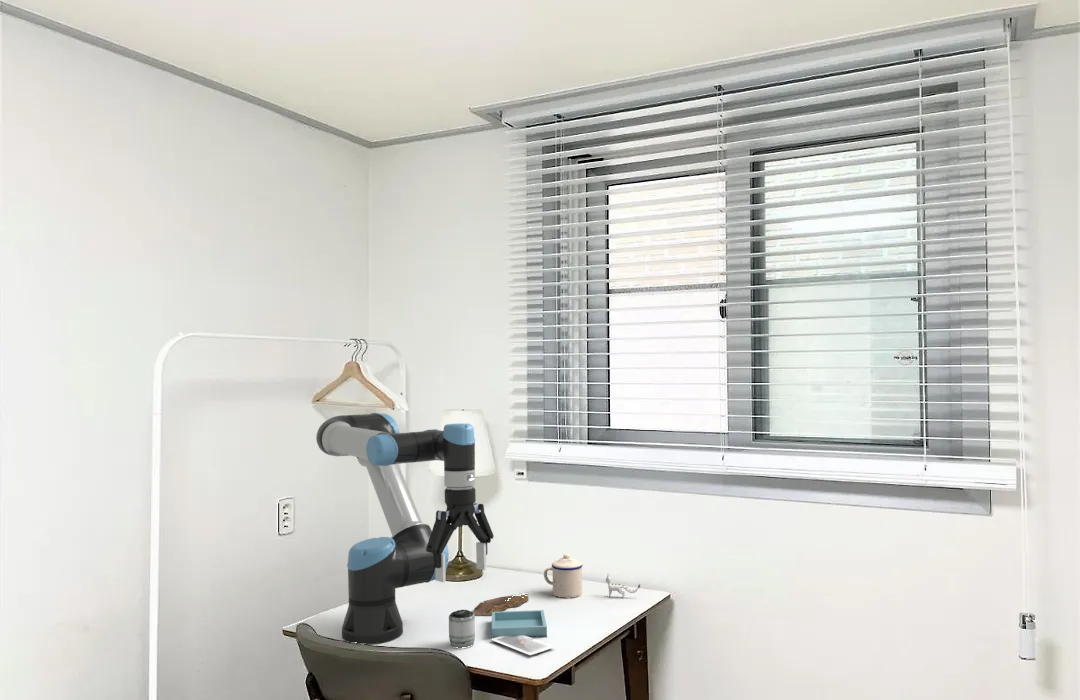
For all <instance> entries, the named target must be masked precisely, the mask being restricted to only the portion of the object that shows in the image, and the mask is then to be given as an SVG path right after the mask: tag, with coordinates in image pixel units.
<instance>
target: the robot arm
mask: <svg viewBox="0 0 1080 700" xmlns="http://www.w3.org/2000/svg"><path fill="white" fill-rule="evenodd" d="M315 437H316V438H315V440H316V444H317V446H318V448H319V449H320V451H322V453H324V454H326V455H328V456H334V457H347V456H348V457H349V456H351V457H356V459H357V461H358V463H359V465H360V466H362V467H365V468H366V470H367V472H368V475H369V477H370V480H371V483H372V486H373V488H374V491H375V494H376V497H377V498H378V502H379V505H380V507H381V510H382V512H383V514H384V517H385V520H386V523H387V526H388V529H389V530H390V533H391V537H390V536H379V537H372V538H368V539H364V540H361V541H359V542H357V543H355V544H353V545H352V546H351V547H350V549H349V551H348V558H347V565H346V566H347V583H348V587H347V588H348V607H347V611H346V614H345V617H344V620H343V623H342V627H341V639H342V640H343V641H345V642H347V641H349V642H348V643H350V642H357V643H366V644H365V645H372V644H381V643H385V642H391V641H393V640H395V639H396V638H399V637H400V636H402V634H403V632H404V624H403V620H402V618H401V614H400V611H399V608H398V605H397V602H396V589H398V588H404V587H409V586H414V585H419V584H424V583H426V584H427V583H430V582H433V581H437V582H440V583H446V580H447V579H446V576H447V575H446V573H447V568H448V566H449V547H448V543H449V541H450V539H451V537H452V535H453V534H454V531H456V530H457V529H458V528H461V527H463V526H468V528H469V529H470V531H471V532H472V533H473V535H474V536H475V537H476V539H477V540H478V542H476V543H475V546H476V547H475V549H476V550H475V552H476V555H475V556H476V560H475V561H476V570H480V571H487V555H488V544H491V541H492V540H493V539H494V532H493V530H492V528H491V526H490V523H489V521H488V519H487V516H486V514H485V505H484V504H483V503H477V502H476V500H477V499H476V497H477V495H476V488H475V487H474V486H475V485H476V453H475V452H476V449H475V448H476V438H475V427H474V426H473V424H471V423H447V424H445V425H444V426H443V430H440V429H426V430H423V431H414V432H413V431H410V432H400V429H399V427H398V424H397V422H396V421H395V419H394V417H392V416H391V415H389V414H387V413H379V412H372V413H369V414H366V413H365V414H347V415H343V414H342V415H337V416H331V417H330V418H328V419H326V420H325V421H324V422H322V424H320V426H319V427H318V429H317V432H316V436H315ZM430 461H431V462H433V461H441V462H443V467H444V468H443V471H444V472H443V475H444V476H443V477H444V480H443V481H444V483H443V484H444V485H443V486H444V487H445V489H444V503H445V505H446V510H439V509H438V510H436V512H435V521H434V523H433V526H432V528H431V526H430V525H429V524H428V523H425V522H422V519H421V516H420V514H419V512H418V508H417V507H416V506H417V505H416V504H415V502H414V499H413V497H412V495H411V492H410V489H409V487H408V484H407V482H406V480H405V478H404V475H403V472H402V470H401V468H400V467H401V466H400V464H408V463H409V464H410V463H411V464H412V463H422V462H430Z"/></svg>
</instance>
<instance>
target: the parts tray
mask: <svg viewBox="0 0 1080 700" xmlns="http://www.w3.org/2000/svg"><path fill="white" fill-rule="evenodd" d="M518 635H525V636H527V637H530V638H546V637H548V628H547V622H546V616H545V612H544V609H537V610H534V609H533V610H510V611H507V610H504V611H501V612H492V616H491V639H492V638H496V637H500V636H518Z"/></svg>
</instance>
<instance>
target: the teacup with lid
mask: <svg viewBox="0 0 1080 700" xmlns="http://www.w3.org/2000/svg"><path fill="white" fill-rule="evenodd" d="M582 567H583V562H581V561H580V560H578V559H575V558H573V557H572V556H571V555H570V553H564V554H563V557H560V558H559V559H557V560H555V561H553V562H552V563H551V567H548V568H546V569H544V571H543V577H544V578H543V579H544V580H545V582H546V584H548V585H551V586H552V594H553V596H554V595H555V596H554V597H556V596H558V597H557V598H560V597H566V598H565V599H570V598H569V597H575V598H578V597H581V596H582V595H581V594H583V568H582ZM548 571H552V581H551V580H550V579H549V577H548ZM577 596H578V597H577Z"/></svg>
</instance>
